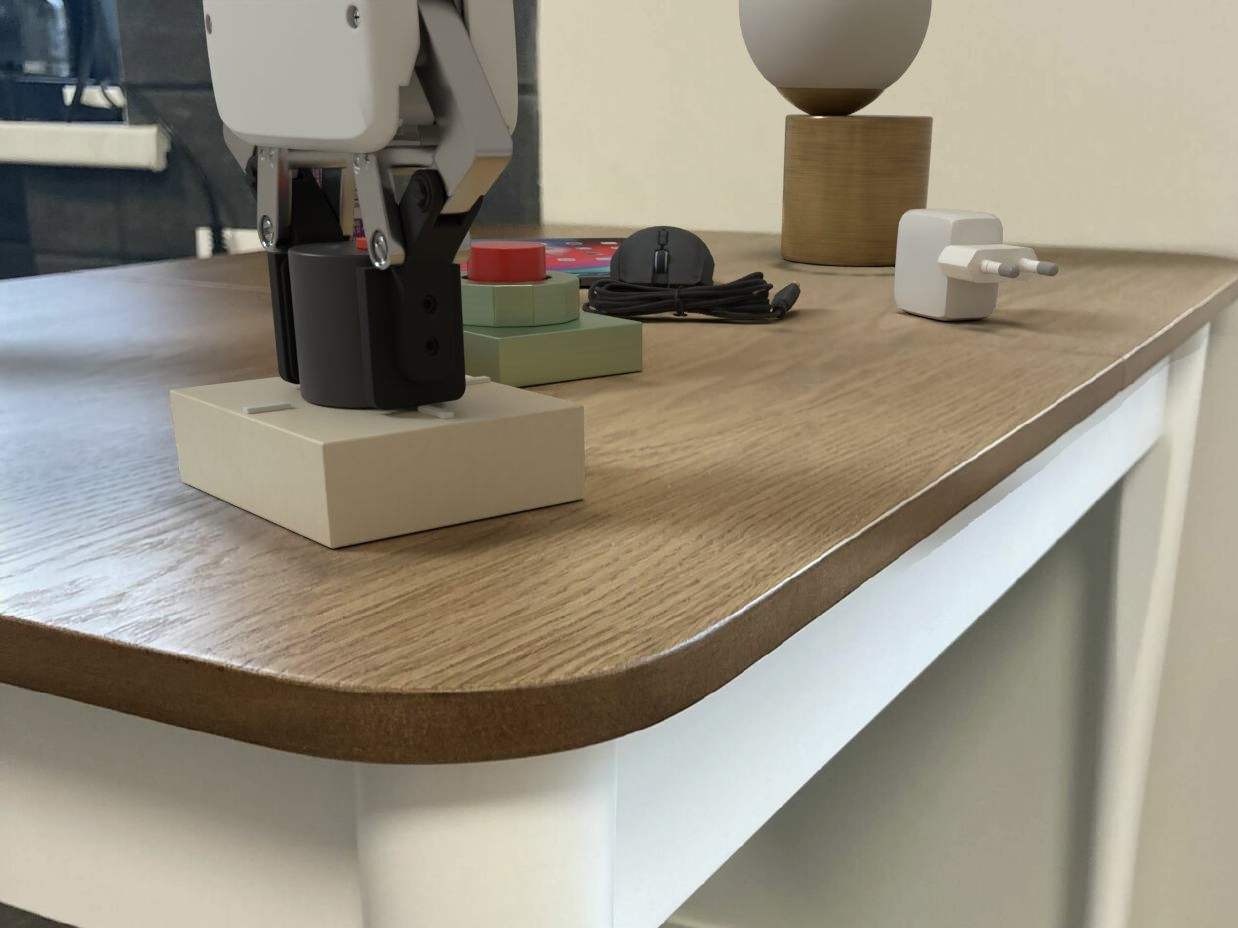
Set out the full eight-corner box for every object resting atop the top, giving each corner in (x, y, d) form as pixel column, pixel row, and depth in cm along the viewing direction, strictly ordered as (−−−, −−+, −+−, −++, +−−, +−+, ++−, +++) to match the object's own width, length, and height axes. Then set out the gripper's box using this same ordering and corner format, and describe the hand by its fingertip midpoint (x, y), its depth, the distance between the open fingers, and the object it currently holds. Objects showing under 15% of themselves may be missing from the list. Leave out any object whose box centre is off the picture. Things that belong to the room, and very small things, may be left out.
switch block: (380, 359, 70) (374, 272, 69) (517, 343, 75) (515, 262, 74) (500, 390, 64) (496, 294, 62) (643, 370, 68) (643, 281, 67)
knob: (271, 395, 46) (256, 237, 44) (381, 377, 49) (371, 228, 47) (364, 415, 43) (351, 247, 41) (473, 394, 46) (466, 237, 45)
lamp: (778, 272, 107) (792, -123, 97) (705, 253, 119) (711, -100, 109) (959, 266, 112) (990, -110, 102) (872, 248, 124) (892, -89, 114)
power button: (452, 283, 68) (450, 243, 67) (516, 278, 70) (515, 239, 70) (497, 291, 66) (495, 250, 65) (561, 285, 68) (561, 245, 67)
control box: (179, 481, 48) (167, 384, 47) (417, 444, 54) (412, 356, 52) (331, 549, 41) (321, 437, 40) (586, 499, 47) (584, 398, 45)
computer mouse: (807, 285, 98) (810, 221, 96) (794, 327, 82) (797, 252, 80) (624, 280, 99) (624, 216, 97) (576, 320, 83) (575, 246, 81)
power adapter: (1065, 333, 81) (1078, 221, 79) (993, 338, 79) (1004, 223, 77) (948, 307, 90) (956, 206, 88) (881, 311, 88) (887, 207, 86)
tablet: (430, 291, 94) (429, 277, 94) (392, 250, 116) (391, 239, 116) (716, 285, 99) (717, 272, 99) (628, 247, 121) (628, 237, 121)
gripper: (637, -342, 35) (637, 419, 43) (293, -240, 47) (339, 346, 54) (363, -412, 31) (415, 455, 38) (56, -280, 42) (141, 367, 49)
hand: (370, 384), depth 46 cm, fingers closed on knob, 4 cm apart
